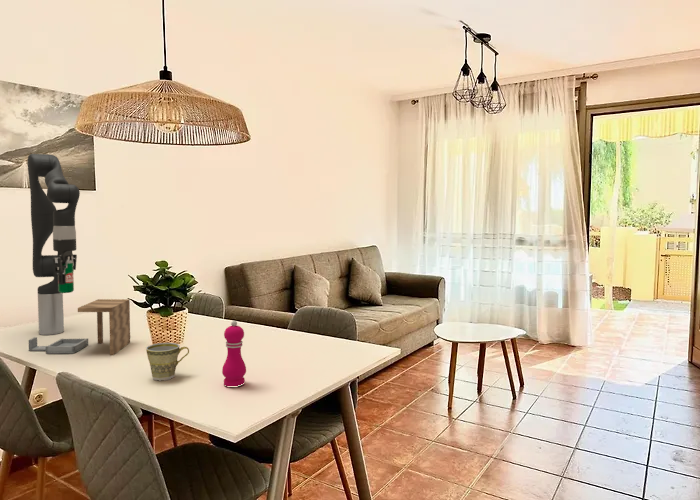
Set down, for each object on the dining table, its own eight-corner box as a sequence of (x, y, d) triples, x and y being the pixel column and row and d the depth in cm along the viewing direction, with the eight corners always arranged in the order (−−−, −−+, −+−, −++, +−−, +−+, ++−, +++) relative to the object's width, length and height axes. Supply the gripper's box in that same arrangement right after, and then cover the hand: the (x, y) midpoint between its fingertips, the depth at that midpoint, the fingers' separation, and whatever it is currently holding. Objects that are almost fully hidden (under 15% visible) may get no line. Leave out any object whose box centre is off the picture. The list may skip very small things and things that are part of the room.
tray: (40, 344, 196) (39, 334, 196) (88, 344, 198) (88, 334, 197) (22, 353, 184) (22, 342, 184) (74, 353, 186) (73, 342, 185)
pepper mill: (224, 380, 159) (224, 318, 158) (247, 380, 160) (247, 318, 158) (220, 388, 152) (220, 323, 151) (244, 388, 153) (244, 323, 151)
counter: (99, 342, 202) (98, 299, 200) (130, 342, 203) (129, 299, 201) (78, 355, 184) (77, 308, 183) (112, 355, 185) (112, 308, 184)
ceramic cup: (147, 384, 155) (146, 352, 154) (146, 374, 164) (145, 344, 163) (191, 379, 160) (190, 348, 160) (187, 370, 169) (187, 340, 169)
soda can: (67, 293, 187) (66, 261, 186) (55, 292, 188) (54, 260, 187) (77, 291, 192) (76, 259, 191) (65, 290, 193) (64, 259, 192)
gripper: (63, 236, 195) (64, 280, 196) (44, 239, 181) (45, 286, 182) (83, 237, 196) (84, 280, 197) (65, 239, 181) (67, 286, 183)
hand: (65, 283), depth 189 cm, fingers closed on soda can, 5 cm apart
